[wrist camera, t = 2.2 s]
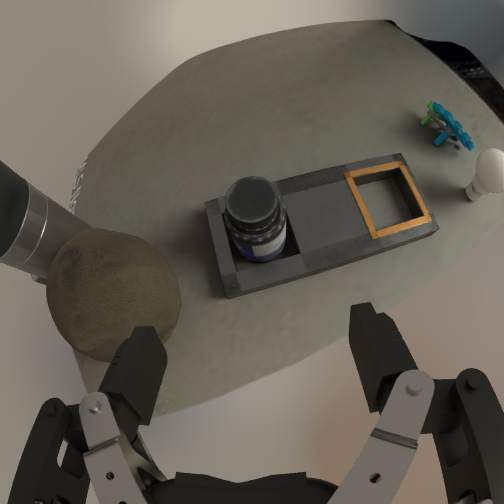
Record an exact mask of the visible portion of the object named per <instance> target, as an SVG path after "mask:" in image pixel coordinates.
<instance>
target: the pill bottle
mask: <svg viewBox="0 0 504 504" xmlns="http://www.w3.org/2000/svg"><path fill="white" fill-rule="evenodd" d="M225 204H226V208H225V213H224V218H225V224H226V226H227V228H228V230H229V232H230V234H231V236H232V238H233V240H234V242H235V244H236V246H237V248H238V250H239V251H240V253H241V254H242V255H243V256H244V257H245V258H247V259H249V260H251V261H253V262H258V263H264V262H268V261H271V260H273V259H275V258H276V257H277V256H278V255H279V254H280V253H281V252H282V250H283V248H284V246H285V242H286V209H285V205H284V202H283V201H282V199H281V197H280V196H279V195H278V194H277V191H276V189H275V187H274V186H273V185H272V184H271V183H270V182H269V181H267V180H266V179H264V178H261V177H255V176H254V177H253V176H250V177H245V178H242V179H240V180H238V181H236V182H235V183H234V184H233V185H232V186H231V187H230V188H229V190H228V192H227V194H226V198H225Z"/></svg>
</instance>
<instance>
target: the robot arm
mask: <svg viewBox="0 0 504 504" xmlns="http://www.w3.org/2000/svg"><path fill="white" fill-rule="evenodd" d="M89 229H94V228H93V227H91V226H90V225H88V224H87V223H85V222H84V221H82V220H81V219H79V218H78V217H76V216H75V215H73V214H72V213H70V212H69V211H68V210H66V209H65V208H63V207H62V206H60V205H59V204H58V203H56V202H55V201H53V200H52V199H50V198H49V197H48V196H46V195H45V194H43V193H42V192H41V191H39V190H38V189H37V188H35V187H34V186H33V185H31V184H30V183H29V182H27V181H26V180H25V179H23V178H21V177H20V176H19V175H18V174H17V173H15V172H14V171H13V170H11V169H10V168H9V167H8V166H6V165H5V164H4V163H3V162H1V161H0V262H2V263H4V264H7V265H9V266H12V267H14V268H17V269H20V270H22V271H25V272H28V273H30V274H31V276H32V279H33V280H34V281H35V282H38V283H41V284H44V285H46V281H47V275H48V271H49V268H50V265H51V263H52V261H53V259H54V257H55V255H56V254H57V252H58V251H59V249H60V248H61V247H62V246H63V245H64V244H65V243H66V242H67V241H68V240H69V239H71V238H72V237H74V236H75V235H77V234H79V233H81V232H83V231H86V230H89ZM349 344H350V348H351V351H352V354H353V357H354V360H355V364H356V367H357V370H358V373H359V376H360V379H361V383H362V386H363V390H364V393H365V397H366V400H367V404H368V407H369V411H370V413H372V412H377V411H379V414H380V418H379V420H378V422H377V424H376V426H375V428H374V430H373V431H372V433H371V435H370V436H369V438H368V440H367V442H366V444H365V445H364V447H363V449H362V451H361V452H360V454H359V456H358V458H357V459H356V461H355V463H354V464H353V466H352V468H351V469H350V471H349V472H348V474H347V475H346V477H345V478H344V480H343V482H342V483H341V484H340V486H337V485H335V484H332V483H330V482H328V481H324V480H321V479H316V478H307V477H306V472H299V473H290V474H278V475H270V476H267V477H263V478H259V479H255V480H250V481H246V482H241V483H235V482H230V481H227V480H222V479H219V478H215V477H212V476H208V475H203V474H191V473H181V472H176V476H175V479H170V480H168V479H167V478H166V477H165V475H163V473H162V472H161V471H160V470H159V469H158V467H157V466H156V464H155V462H154V460H153V459H152V457H151V455H150V453H149V451H148V449H147V447H146V445H145V443H144V441H143V439H142V437H141V435H140V433H139V432H138V426H139V425H147V426H149V424H150V421H151V417H152V413H153V410H154V406H155V403H156V399H157V396H158V392H159V389H160V385H161V382H162V379H163V375H164V372H165V369H166V366H167V353H166V350H165V348H164V346H163V344H162V342H161V340H160V338H159V336H158V334H157V332H156V330H155V328H154V327H153V326H137V327H135V328H134V329H133V331H132V333H131V336H130V338H126V339H125V340H124V341H123V342H122V344H121V345H120V346H119V347H118V349H117V351H116V353H115V355H114V357H113V359H112V361H111V365H109V368H108V370H107V372H106V374H105V376H104V378H103V381H102V383H101V385H100V387H99V390H98V391H97V392H92V393H90V394H88V395H87V396H85V397H84V398H83V399H82V401H81V402H80V404H75V405H68V406H66V405H65V404H64V403H63V402H62V401H61V400H60V399H58V398H51V399H49V400H47V401H46V402H45V403H44V404H43V405H42V407H41V409H40V411H39V413H38V416H37V418H36V420H35V423H34V425H33V428H32V430H31V432H30V435H29V437H28V440H27V443H26V445H25V448H24V451H23V453H22V456H21V459H20V462H19V465H18V468H17V472H16V474H15V478H14V481H13V485H12V488H11V492H10V496H9V499H8V503H7V504H85V503H86V498H87V493H88V489H89V484H90V480H91V482H92V485H93V487H94V490H95V493H96V495H97V498H98V500H99V503H100V504H390V503H391V502H392V500H393V498H394V496H395V495H396V493H397V491H398V489H399V487H400V485H401V483H402V481H403V479H404V477H405V475H406V473H407V471H408V469H409V467H410V465H411V462H412V460H413V458H414V455H415V453H416V450H417V446H418V444H417V440H418V437H419V435H420V434H427V433H432V434H433V438H434V442H435V445H436V449H437V453H438V457H439V461H440V465H441V469H442V474H443V478H444V483H445V488H446V493H447V498H448V504H504V412H503V410H502V408H501V405H500V403H499V401H498V399H497V396H496V394H495V392H494V390H493V388H492V386H491V384H490V382H489V380H488V378H487V376H486V375H485V374H484V373H483V372H482V371H480V370H478V369H474V368H469V369H465V370H463V371H462V372H461V373H460V374H459V375H458V377H457V378H456V379H442V380H437V379H432V378H431V377H430V376H429V375H428V374H427V373H425V372H423V371H420V370H419V369H418V368H417V366H416V363H415V361H414V359H413V358H412V355H411V353H410V351H409V349H408V347H407V345H406V343H405V341H404V340H403V339H402V336H401V334H400V332H399V331H398V328H397V326H396V325H395V322H394V321H393V319H391V318H390V317H389V316H387V315H386V314H385V313H384V312H383V313H378V314H376V312H375V310H374V308H373V306H372V304H371V303H370V302H367V303H361V304H356V305H352V306H351V310H350V323H349ZM63 440H65V441H66V442H67V443H68V445H67V449H66V452H65V455H64V458H63V461H62V465H61V468H60V467H59V465H58V463H57V456H58V453H59V450H60V447H61V444H62V441H63Z"/></svg>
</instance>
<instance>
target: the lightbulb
mask: <svg viewBox="0 0 504 504" xmlns="http://www.w3.org/2000/svg"><path fill="white" fill-rule="evenodd" d="M490 192H491V193H502V192H504V152H503V151H501V150H499V149H496V148H488V149H485V150H484V151H482V152H481V153H480V155H479V156H478V158H477V162H476V174H475V176H474V178H473V181H472V182H471V183H470V184H469V185H468V186H467V187H466V194H467V196H468V198H469V199H470V200H472V201H476V200H478V199H479V198H480V197H481V196H482V195H484V194H487V193H490Z"/></svg>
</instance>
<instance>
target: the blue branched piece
mask: <svg viewBox="0 0 504 504" xmlns="http://www.w3.org/2000/svg"><path fill="white" fill-rule="evenodd" d="M427 107H428V108H429V109H430V110H431V111H430V110H429V111H428V112H427V113H428V114H429V115H428V116H427V117H426V118H425V119H424V120H423V121H422V122H421V124H422V125H423V126H424V125H425V124H426V123H427V122H428V121H429V120H430V119H431V118H432V119H433V120H434V121H435V122H436V123H437V124H438V125H439V126H440V127H441V128H442V129H443V130H444V132H443V133H442V134H441V135H440V136H439V137H438V138H437V139H436V140H435V141H434V143H435V144H436V145H437V146H438V145H439V144H440V143H441V142H442V141H443V140H444V139H445V138H447V137H448V136H451V135H452V134H454V136H455V137H456V138H457V139H458V140H460V141H461V143H462V144H463V146H464V147H465V148H466V147H467V148H468V150H469V151H471V150H472V149H473V148H474V145H473V143H472V142H471V141H469V140H470V139H471V138H470V137H469V135H468V134H467V133H466V132H465V133H464V132H463V131H462V128H463V127H462V126H461V124H460V123H459V122H458V121H455V120H454V119H453V117H452V115H451V113H450V112H449V111H447V110H446V111H445V110H444V108H443V107H442V106H441V105H440V104H437V103H436V102H434V103H433V102H432V101H431V102H430V103H429V104H428V105H427ZM432 108H433V109H432ZM435 115H436V116H437V118H438V119H439V120H442V121H444V122H445V123H446V127H445V126H444V125H443V124H442V123H441V122H440V121H439V120H438V119H437V118H436V116H435Z"/></svg>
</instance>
